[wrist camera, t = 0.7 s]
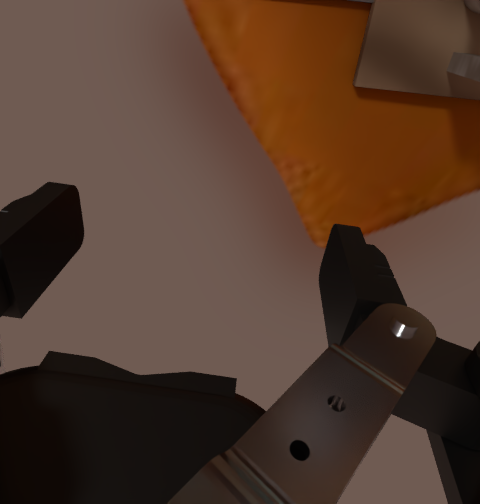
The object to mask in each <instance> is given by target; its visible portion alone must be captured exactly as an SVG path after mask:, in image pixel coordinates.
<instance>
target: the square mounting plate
mask: <svg viewBox="0 0 480 504" xmlns="http://www.w3.org/2000/svg"><path fill="white" fill-rule="evenodd" d="M353 85H354V86H357V87H366V88H374V89H383V90H392V91H401V92H410V93H419V94H428V95H437V96H446V97H455V98H464V99H473V100H480V0H374V3H372V5H371V9H370V13H369V17H368V22H367V26H366V30H365V34H364V38H363V43H362V47H361V51H360V55H359V59H358V64H357V68H356V72H355V76H354V80H353Z"/></svg>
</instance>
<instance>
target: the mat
mask: <svg viewBox="0 0 480 504" xmlns="http://www.w3.org/2000/svg"><path fill="white" fill-rule="evenodd" d="M349 1H359V2H368V3H374V0H349Z"/></svg>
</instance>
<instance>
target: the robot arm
mask: <svg viewBox="0 0 480 504" xmlns="http://www.w3.org/2000/svg"><path fill="white" fill-rule="evenodd" d="M83 238H84V226H83V219H82V211H81V205H80V197H79V192H78V189H77V188H76V186H74V185H67V184H61V183H53V182H47V183H46V184H45V185H43V186H42V187H40V188H39V189H38V190H36V191H35V192H34V193H33V194H31V195H28V196H25V197H23V198H20V199H18V200H15V201H13V202H11V203H10V204H9V205H7V206H6V207H4V208H3V209H2V210H1V212H0V317H1V316H8V317H15V318H22V317H23V316H24V315H25V313H27V311H28V310H29V309H30V308H31V307H32V305H33V304H34V303H35V302H36V301H37V299H38V298H39V297H40V296H41V294H42V293H43V292H44V291H45V290H46V288H47V287H48V286H49V285H50V284H51V282H52V281H53V280H54V279H55V278H56V276H57V275H58V274H59V273H60V272H61V270H62V269H63V268H64V267H65V266H66V264H67V263H68V262H69V261H70V259H71V258H72V257H73V256H74V255H75V253H76V252H77V251H78V250H79V249H80V247H81V245H82V242H83ZM319 287H320V294H321V300H322V307H323V313H324V319H325V326H326V332H327V339H328V346H329V347H328V349H326V350H325V351H324V353H323V354H322V355H321V356H320V357H319V358H318V359H317V360H316V361H315V362H314V363H313V364H312V365H311V366H310V367H309V368H308V369H307V370H306V371H305V372H304V373H303V374H302V375H301V376H300V377H299V378H298V379H297V380H296V381H295V382H294V383H293V384H292V386H291V387H290V388H289V389H288V390H287V391H286V392H285V393H284V394H283V395H282V396H281V397H280V398H279V399H278V400H277V401H276V402H275V403H274V404H273V405H272V406H271V407H270V408H269V409H268V410H267V411H265V410H264V409H262V408H261V407H260V406H258V405H257V404H255V403H254V402H252V401H251V400H249V399H247V398H245V397H243V396H241V395H238V394H236V393H235V390H236V389H235V388H236V380H237V379H236V378H230V377H223V376H216V375H209V374H203V373H196V372H179V373H166V374H151V375H137V374H134V373H132V372H129V371H127V370H124V369H122V368H119V367H117V366H114V365H112V364H110V363H107V362H105V361H102V360H100V359H97V358H94V357H87V356H80V355H74V354H67V353H60V352H53V351H49V352H48V354H47V355H46V357H45V358H44V359H43V361H42V362H41V364H40V365H39V366H32V367H26V368H20V369H17V370H13V371H9V372H6V373H5V367H4V359H3V352H2V345H1V338H0V504H336V503H337V502H338V500H339V499H340V497H341V495H342V493H343V492H344V490H345V489H346V487H347V485H348V484H349V482H350V480H351V479H352V477H353V476H354V474H355V472H356V471H357V469H358V467H359V465H360V464H361V462H362V461H363V459H364V458H365V456H366V454H367V453H368V451H369V449H370V448H371V446H372V444H373V443H374V441H375V440H376V438H377V436H378V435H379V433H380V431H381V430H382V428H383V426H384V425H385V423H386V422H387V420H388V418H389V417H390V415H391V414H393V415H395V416H397V417H400V418H402V419H404V420H406V421H409V422H411V423H413V424H415V425H418V426H420V427H422V428H424V429H426V430H427V433H428V437H429V440H430V443H431V447H432V450H433V454H434V457H435V461H436V464H437V467H438V470H439V474H440V477H441V481H442V484H443V487H444V491H445V494H446V498H447V501H448V504H480V342H478V344H477V345H476V346H475V348H474V349H473V351H472V350H469V349H467V348H464V347H461V346H458V345H456V344H453V343H450V342H447V341H445V340H443V339H440V338H438V337H436V331H435V328H434V326H433V325H432V323H431V322H430V321H429V320H428V319H427V318H426V317H425V316H423V315H422V314H421V313H419V312H417V311H416V310H414V309H412V308H410V307H407V304H406V302H405V300H404V298H403V295H402V293H401V291H400V288H399V286H398V284H397V282H396V280H395V278H394V275H393V273H392V270H391V269H390V266H389V263H388V261H387V259H386V257H385V255H384V254H383V253H382V252H381V251H380V250H379V249H378V248H376V247H375V246H374V245H370V244H366V242H365V240H364V237H363V234H362V232H361V229H360V228H359V227H355V226H348V225H341V224H334V225H333V227H332V230H331V233H330V236H329V239H328V243H327V246H326V249H325V253H324V256H323V259H322V263H321V267H320V273H319Z"/></svg>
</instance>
